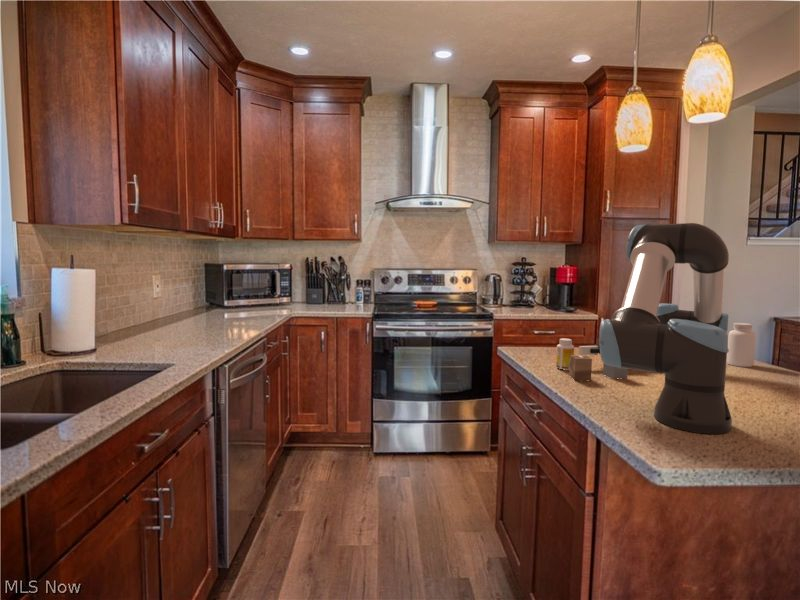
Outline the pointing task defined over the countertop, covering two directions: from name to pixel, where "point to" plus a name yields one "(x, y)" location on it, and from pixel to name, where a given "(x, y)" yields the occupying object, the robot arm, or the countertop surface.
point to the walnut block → (580, 367)
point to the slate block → (614, 372)
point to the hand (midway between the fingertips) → (580, 350)
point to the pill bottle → (741, 345)
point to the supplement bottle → (564, 353)
